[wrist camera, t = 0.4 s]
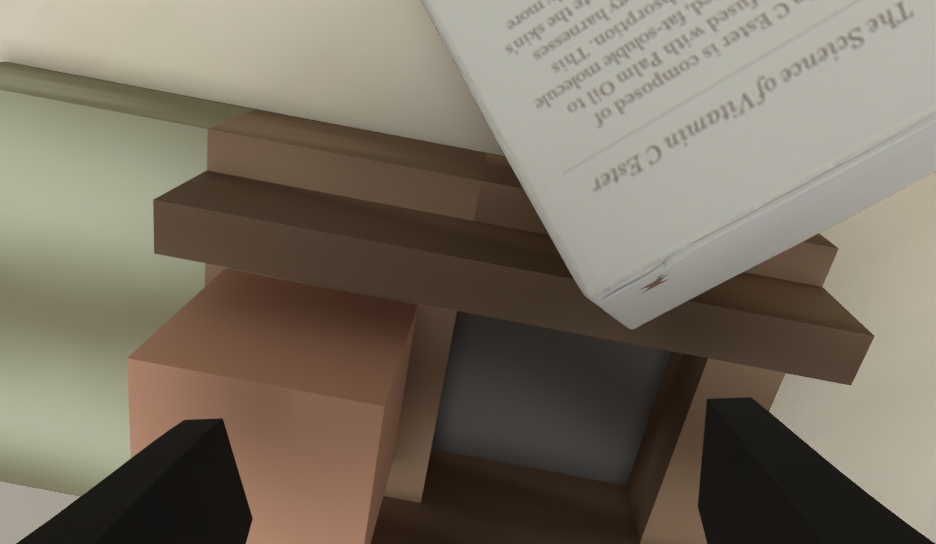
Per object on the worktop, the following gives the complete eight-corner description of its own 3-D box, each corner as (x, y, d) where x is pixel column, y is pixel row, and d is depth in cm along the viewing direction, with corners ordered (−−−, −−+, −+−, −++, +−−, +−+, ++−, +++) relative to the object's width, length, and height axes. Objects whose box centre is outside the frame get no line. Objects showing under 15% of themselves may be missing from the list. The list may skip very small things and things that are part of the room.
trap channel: (663, 536, 23) (705, 689, 18) (40, 418, 23) (-97, 538, 18) (789, 210, 18) (895, 292, 13) (5, 61, 18) (-196, 86, 13)
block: (392, 461, 19) (356, 593, 14) (219, 428, 19) (134, 551, 14) (418, 305, 17) (384, 406, 12) (224, 269, 17) (126, 358, 12)
